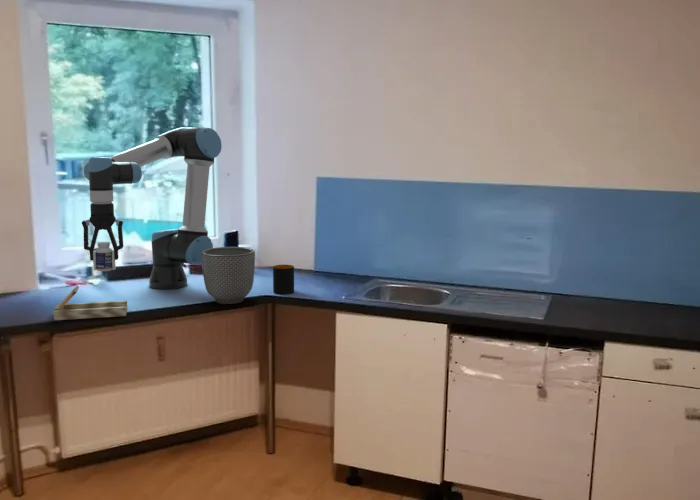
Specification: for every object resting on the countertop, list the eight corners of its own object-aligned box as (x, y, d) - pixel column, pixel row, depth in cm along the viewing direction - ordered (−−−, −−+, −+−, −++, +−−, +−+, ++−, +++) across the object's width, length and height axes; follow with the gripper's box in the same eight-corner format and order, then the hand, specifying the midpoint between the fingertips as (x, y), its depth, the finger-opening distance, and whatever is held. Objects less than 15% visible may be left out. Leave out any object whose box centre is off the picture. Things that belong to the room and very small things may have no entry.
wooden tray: (127, 308, 247) (126, 299, 246) (126, 315, 237) (125, 306, 237) (58, 312, 241) (57, 302, 240) (54, 320, 232) (53, 310, 231)
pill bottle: (107, 271, 237) (105, 243, 235) (93, 271, 238) (91, 243, 236) (116, 269, 242) (114, 241, 240) (102, 268, 243) (101, 240, 241)
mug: (289, 287, 282) (289, 262, 280) (296, 293, 271) (296, 268, 269) (269, 288, 279) (268, 263, 278) (275, 295, 268) (275, 269, 266)
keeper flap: (79, 287, 241) (77, 285, 240) (76, 292, 233) (74, 291, 232) (65, 301, 240) (62, 300, 240) (61, 307, 232) (59, 306, 232)
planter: (229, 292, 273) (228, 244, 269) (266, 299, 262) (266, 250, 258) (191, 302, 257) (189, 251, 253) (229, 310, 246) (228, 257, 242)
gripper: (130, 201, 242) (133, 266, 245) (75, 201, 238) (78, 267, 241) (129, 203, 234) (131, 270, 238) (71, 203, 230) (74, 272, 234)
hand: (104, 269), depth 240 cm, fingers closed on pill bottle, 5 cm apart
